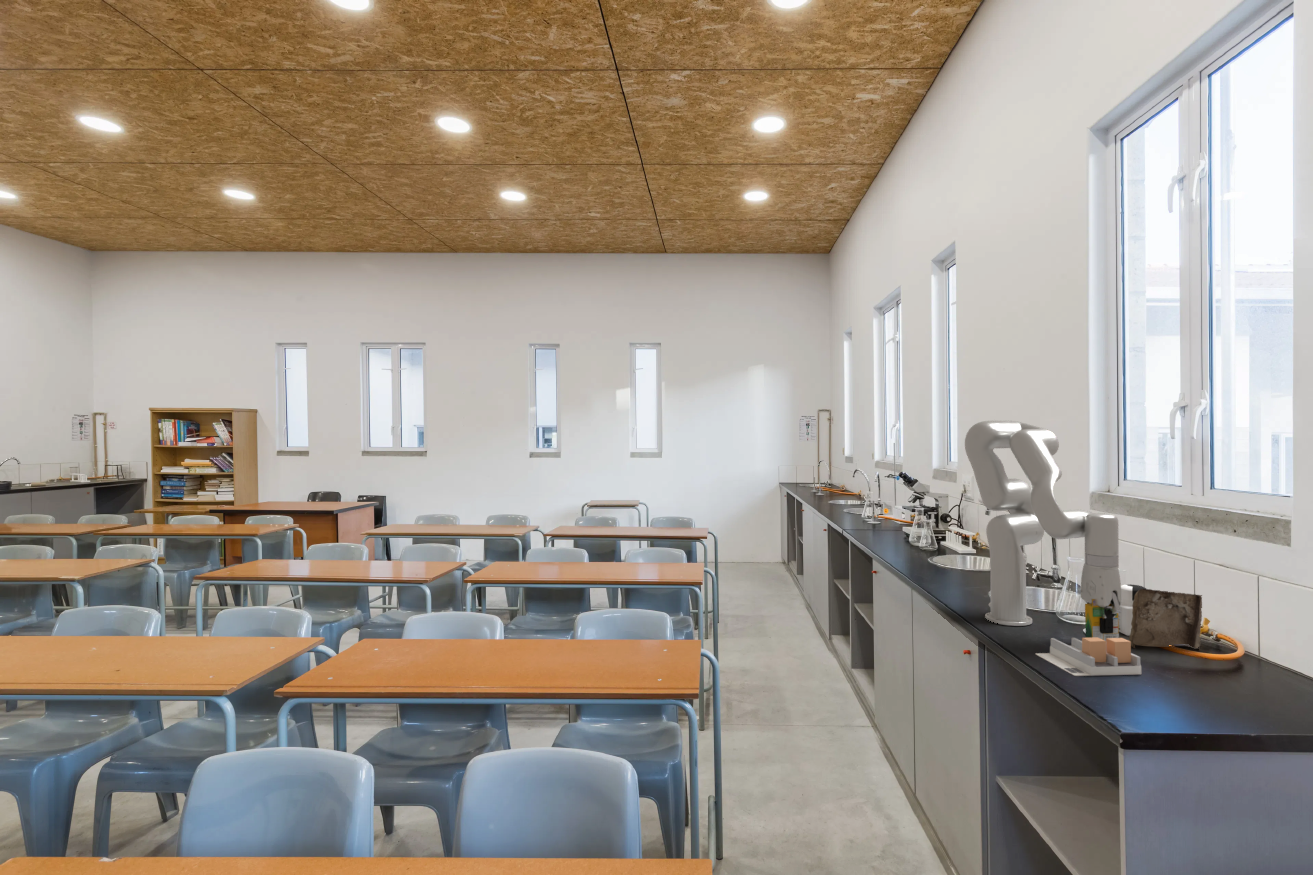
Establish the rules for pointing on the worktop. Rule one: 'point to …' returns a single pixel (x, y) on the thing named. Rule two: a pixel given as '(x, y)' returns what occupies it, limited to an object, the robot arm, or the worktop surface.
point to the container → (1127, 607)
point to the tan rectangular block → (1094, 648)
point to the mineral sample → (1165, 618)
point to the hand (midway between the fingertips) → (1101, 630)
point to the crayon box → (1098, 622)
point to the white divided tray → (1087, 661)
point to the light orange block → (1119, 649)
